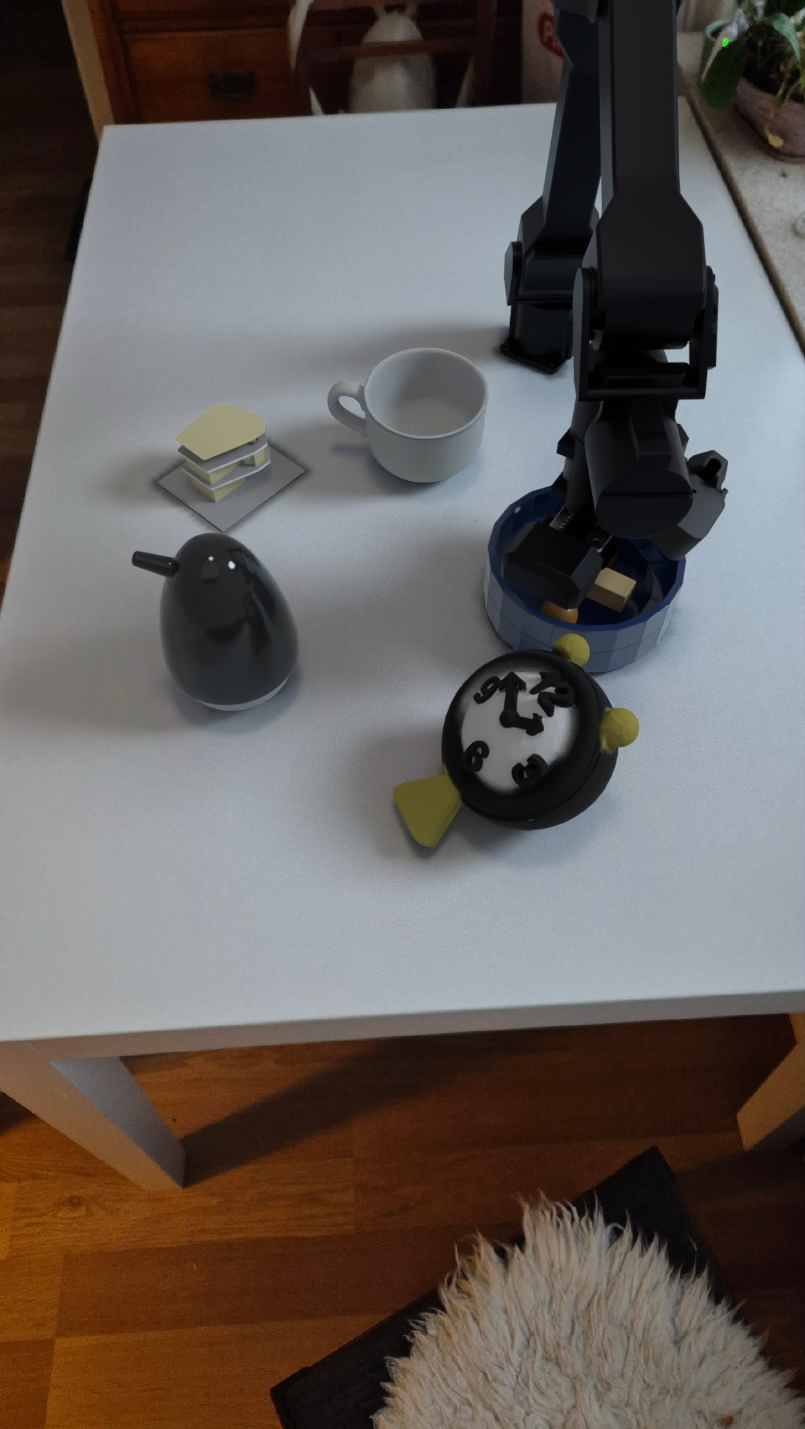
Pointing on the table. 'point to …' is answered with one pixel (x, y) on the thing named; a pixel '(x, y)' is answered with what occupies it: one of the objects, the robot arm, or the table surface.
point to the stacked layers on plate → (228, 466)
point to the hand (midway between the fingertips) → (581, 575)
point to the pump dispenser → (223, 622)
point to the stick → (612, 589)
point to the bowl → (601, 627)
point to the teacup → (418, 412)
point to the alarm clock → (522, 745)
